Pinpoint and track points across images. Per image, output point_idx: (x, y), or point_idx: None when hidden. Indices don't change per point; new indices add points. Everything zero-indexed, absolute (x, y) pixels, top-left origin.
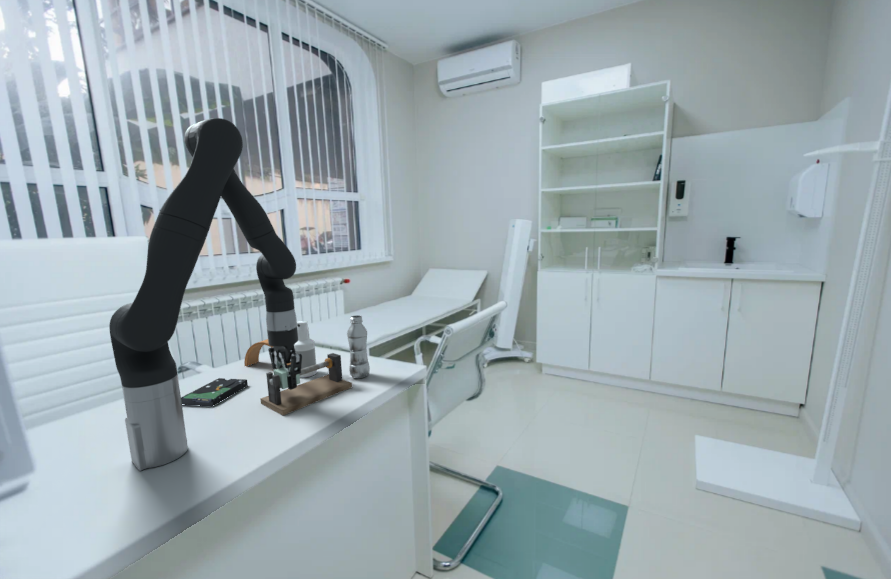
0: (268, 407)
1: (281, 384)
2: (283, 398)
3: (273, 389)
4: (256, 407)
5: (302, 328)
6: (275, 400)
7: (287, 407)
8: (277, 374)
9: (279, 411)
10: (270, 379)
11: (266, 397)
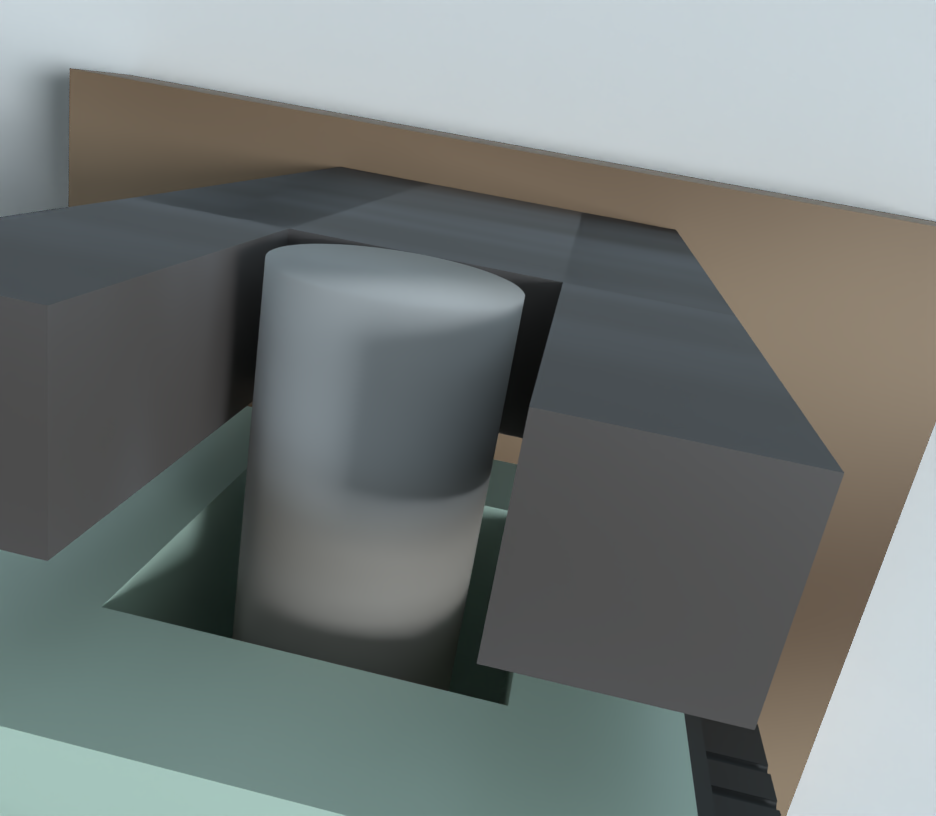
0: (637, 167)
1: (213, 457)
2: (504, 438)
3: (332, 214)
4: (901, 66)
5: None
6: (365, 179)
7: (93, 194)
8: (297, 685)
9: (215, 91)
10: (387, 296)
11: (901, 335)
